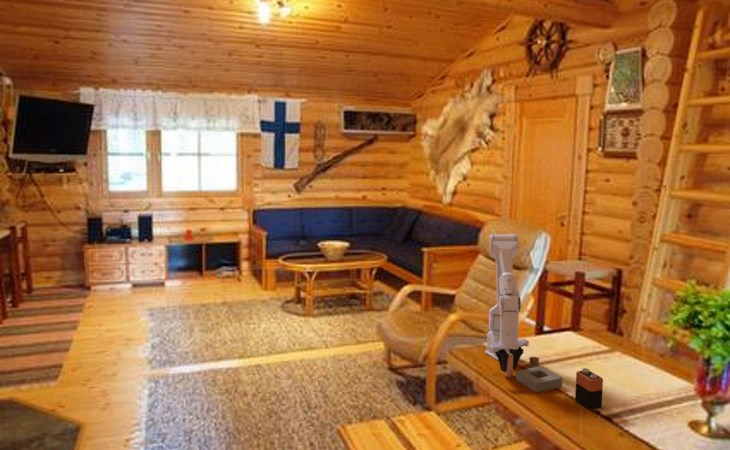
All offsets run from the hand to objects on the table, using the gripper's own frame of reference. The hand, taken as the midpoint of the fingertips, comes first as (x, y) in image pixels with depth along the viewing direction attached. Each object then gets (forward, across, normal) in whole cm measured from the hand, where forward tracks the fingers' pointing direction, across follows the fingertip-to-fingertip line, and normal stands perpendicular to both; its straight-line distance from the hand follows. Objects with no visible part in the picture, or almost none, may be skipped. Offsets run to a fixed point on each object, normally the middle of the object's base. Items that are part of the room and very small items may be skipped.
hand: (508, 369), depth 183 cm
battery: (+2, +9, -26) cm, 28 cm away
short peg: (+2, +10, 0) cm, 11 cm away
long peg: (+2, 0, 0) cm, 2 cm away
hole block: (+2, +5, -9) cm, 10 cm away
